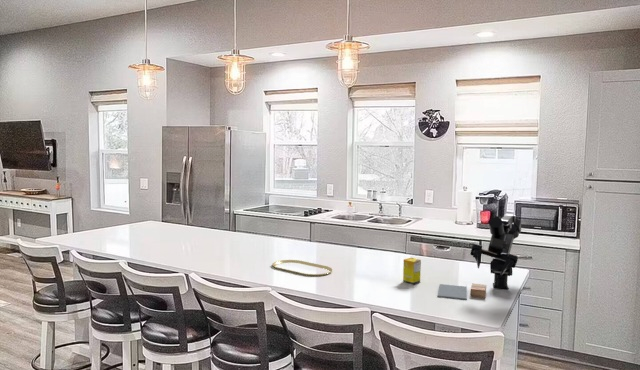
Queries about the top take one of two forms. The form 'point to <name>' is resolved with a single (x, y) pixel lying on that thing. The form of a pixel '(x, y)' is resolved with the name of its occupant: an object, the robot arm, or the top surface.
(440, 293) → the slate mat
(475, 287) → the cardboard box
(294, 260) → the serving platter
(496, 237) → the robot arm
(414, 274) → the supplement box
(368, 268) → the top surface
